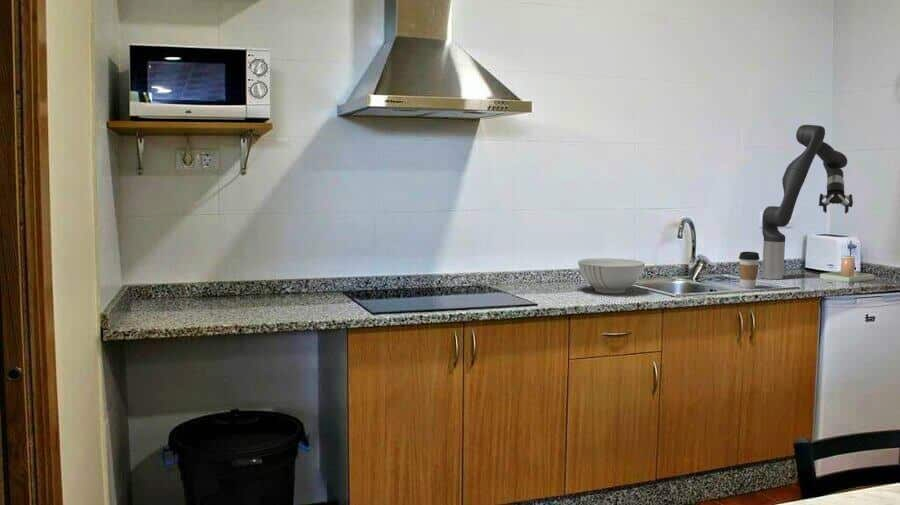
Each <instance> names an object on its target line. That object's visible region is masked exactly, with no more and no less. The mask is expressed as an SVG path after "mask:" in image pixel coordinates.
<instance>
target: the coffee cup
mask: <svg viewBox="0 0 900 505" xmlns="http://www.w3.org/2000/svg"><path fill="white" fill-rule="evenodd" d="M738 260H739V263H738V266H739V267H738V268H739V288H741V289H755V288H756V283H757V277H758V271H759V270H758V269H759V261H760V254H759V252H756V251H742V252H740V253H739V256H738Z"/></svg>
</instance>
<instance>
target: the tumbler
mask: <svg viewBox="0 0 900 505" xmlns="http://www.w3.org/2000/svg"><path fill="white" fill-rule="evenodd" d="M840 259H841V264H840V271H841V276H843V277H854V272H855V265H856V262H855V261H856V256H853V255H841V258H840Z"/></svg>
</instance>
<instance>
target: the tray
mask: <svg viewBox="0 0 900 505" xmlns="http://www.w3.org/2000/svg"><path fill="white" fill-rule="evenodd" d="M819 280H823V281H824V280H825V281H831V282H832V281H833V282H837V281H838V283H846V284H852V283H853V284H854V283H861V282H869V281H874V280H875V274H873V273H865V272H858V271H854V277H843V276H841V270H840V271H834V272H833V271H832V272H823V273H820V274H819Z"/></svg>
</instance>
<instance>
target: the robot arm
mask: <svg viewBox="0 0 900 505" xmlns="http://www.w3.org/2000/svg"><path fill="white" fill-rule="evenodd" d="M795 135H796V136H795V138H796V141H797V142H798V143H799V144H800V145H802V146H804V147H806V148H805V149H804V151H803V152H802V153H801V154H800V155H798V156H797V157H796V158H795V159H794V160H792V161H791V162H790V163H789V164H788V165H787V167H786V169H785V172H784V174H783V175H782V176H783V177H782V179H781V180H782V181H781V182H782V189H783V199H782V201H781V204H780V206H773V205H769V206H767V207H765V209H764V210H763V213H762V218H761V219H762V220H761V221H762V222H761V226H762V228H761V230H762V232H761V233H762V236H763V244H762V245H763V247H762V248H763V249H762V260H761V261H762V264H761V279H766V280H767V279H768V280H782V279H784V271H785V270H784V268H785V267H784V266H785V251H786V250H785V248H786V235H785V234H783V233H782V232H781V231H780V230H779V228H784V227H787V225H788V224H789V223H790V222H791V219H792V217H793V216H792V215H793V212H794V210H795V206H796V203H797V200H798V197H799V194H800V191H801V190H802V187H803V185H804V183H805V181H806V178H807V175H808V172H809V171H810V168H811V165H812V163H813V161H814V158H815V157H816V155H817V157H818V158H819V159H820V160H822V165H823V168H824V169H825V172H826V177H827V178H826V194H823V193H820V194H819V197H818V198H819V201H818V206H819V207H822V211H823V212H824V214H827V210H828V209H827V208H828V206H829V205H830V204H831V205H832V204H833V205H834V204H837V205H839V204H840V205H841V206H843V207H844V214H848V213H849V208H853V204H854V201H853V195H852V193H850V194H849V195H846V194H845V181H844V180H845V179H844V171H843V168H846V166H847V165H848V158H847V156H846V154H844V153H843V152H841V151H838V150H835V149H834V148H833V147H832V146H831V145H830V144H828V143H826V142H824V139H825V136H826V129H825V127H824V126H822V125H815V124H802V125H800V126H799V127H798V128H797V130H796V133H795ZM824 199H826V200H825V201H823V200H824ZM846 199H847V200H846Z"/></svg>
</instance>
